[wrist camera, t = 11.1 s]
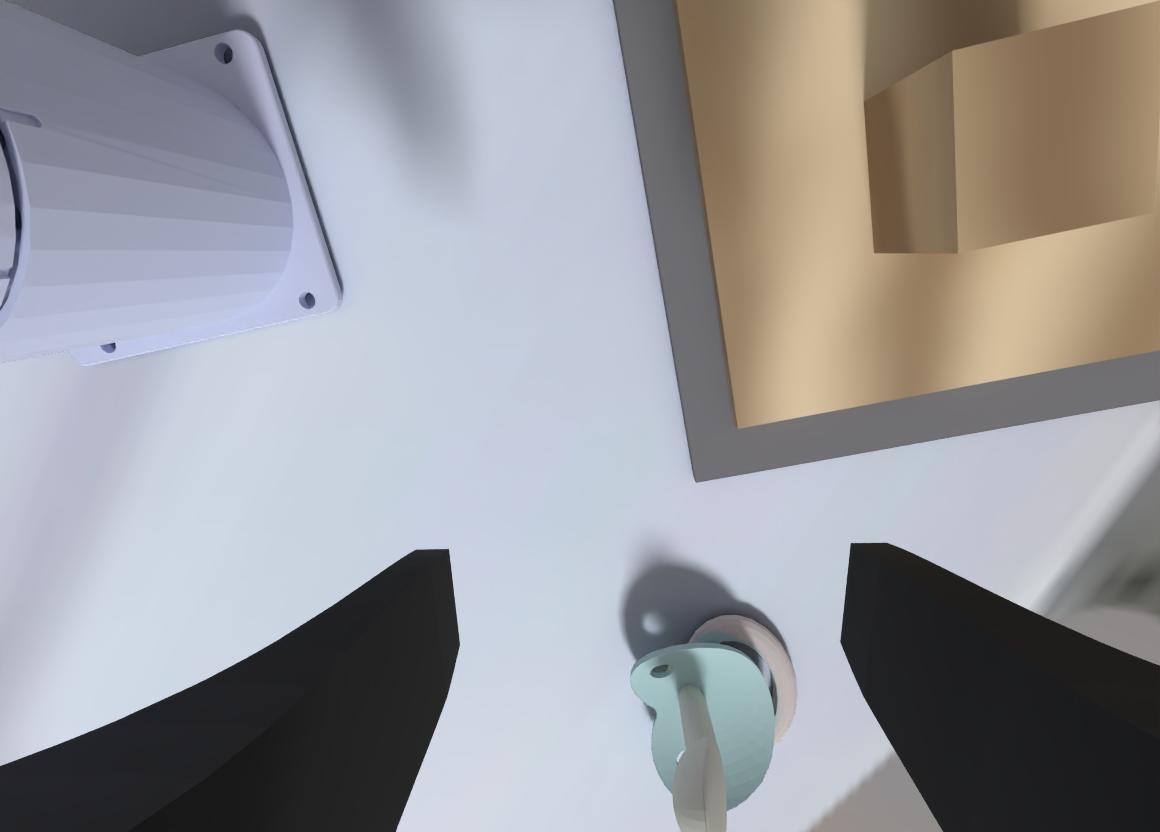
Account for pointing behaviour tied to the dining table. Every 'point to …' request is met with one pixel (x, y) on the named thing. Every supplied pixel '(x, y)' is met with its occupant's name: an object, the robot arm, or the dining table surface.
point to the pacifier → (715, 717)
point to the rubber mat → (698, 331)
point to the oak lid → (923, 191)
